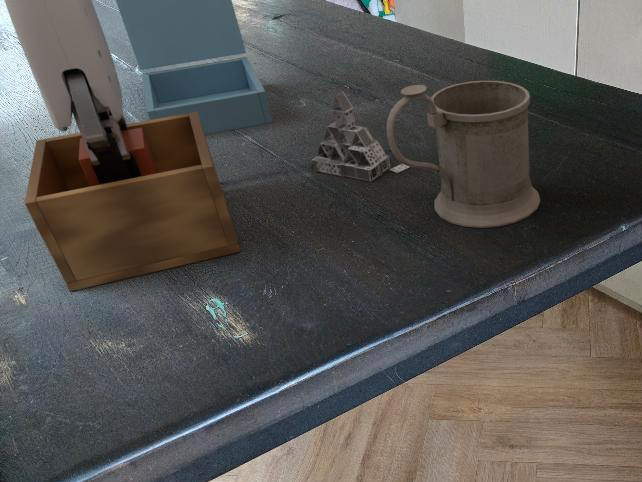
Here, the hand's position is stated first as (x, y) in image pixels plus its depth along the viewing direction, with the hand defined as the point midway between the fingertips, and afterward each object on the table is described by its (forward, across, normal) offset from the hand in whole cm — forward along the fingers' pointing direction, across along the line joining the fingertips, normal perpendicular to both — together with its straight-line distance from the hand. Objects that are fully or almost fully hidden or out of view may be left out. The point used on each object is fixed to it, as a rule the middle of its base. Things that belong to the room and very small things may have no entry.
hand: (129, 189), depth 63 cm
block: (+1, 0, 0) cm, 1 cm away
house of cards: (+4, -5, +22) cm, 23 cm away
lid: (-8, -35, +9) cm, 37 cm away
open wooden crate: (+4, +1, 0) cm, 4 cm away
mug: (+4, +10, +28) cm, 30 cm away
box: (+4, -27, +8) cm, 29 cm away
